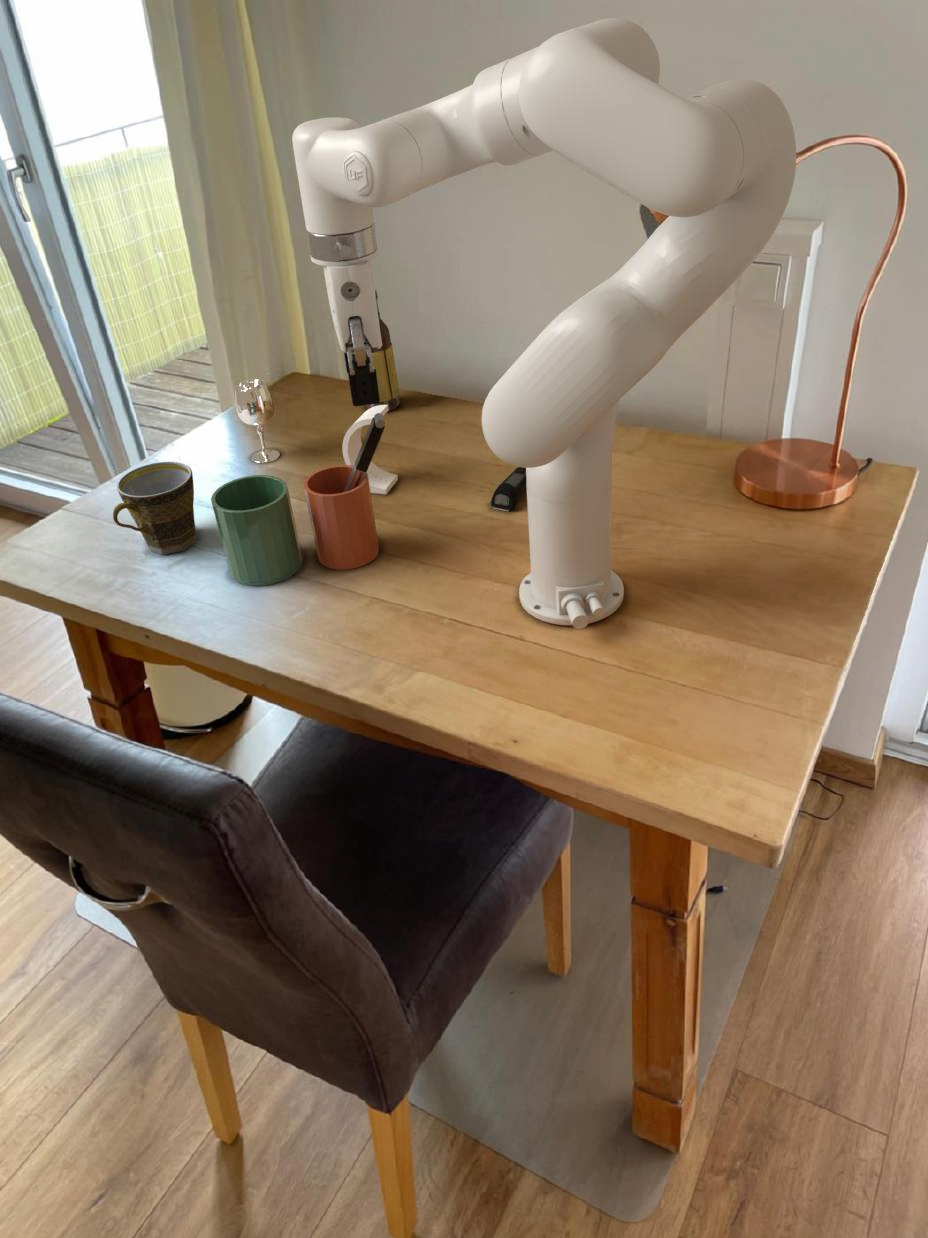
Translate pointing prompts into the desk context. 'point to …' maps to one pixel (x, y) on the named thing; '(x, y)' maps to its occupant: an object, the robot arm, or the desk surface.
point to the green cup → (257, 529)
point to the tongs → (366, 451)
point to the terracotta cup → (341, 518)
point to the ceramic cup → (160, 505)
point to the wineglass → (256, 412)
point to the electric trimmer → (509, 490)
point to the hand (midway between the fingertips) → (363, 387)
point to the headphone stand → (351, 447)
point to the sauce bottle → (385, 369)
